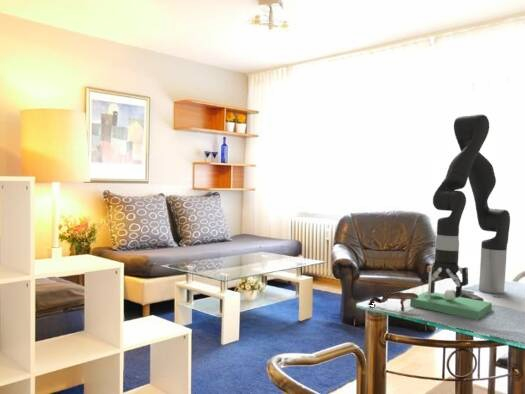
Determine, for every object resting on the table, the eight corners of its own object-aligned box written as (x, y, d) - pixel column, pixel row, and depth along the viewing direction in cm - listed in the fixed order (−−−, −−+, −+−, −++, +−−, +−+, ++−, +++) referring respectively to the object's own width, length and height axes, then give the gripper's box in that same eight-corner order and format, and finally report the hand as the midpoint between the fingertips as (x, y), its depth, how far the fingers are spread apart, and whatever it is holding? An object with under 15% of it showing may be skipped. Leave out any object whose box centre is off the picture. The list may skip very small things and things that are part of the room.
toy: (382, 326, 156) (421, 301, 152) (366, 303, 157) (404, 279, 153) (384, 321, 161) (421, 298, 157) (368, 300, 162) (404, 276, 158)
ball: (460, 294, 160) (452, 302, 162) (451, 285, 162) (443, 293, 164) (457, 296, 157) (449, 304, 159) (448, 287, 159) (440, 295, 161)
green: (427, 297, 174) (427, 291, 174) (491, 310, 160) (491, 302, 160) (410, 305, 162) (410, 298, 162) (477, 319, 148) (478, 311, 147)
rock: (488, 304, 169) (489, 292, 169) (472, 307, 164) (472, 295, 163) (468, 299, 176) (469, 288, 175) (452, 302, 170) (453, 290, 170)
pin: (428, 300, 159) (429, 265, 159) (430, 301, 159) (432, 266, 158) (424, 302, 157) (426, 266, 156) (427, 302, 156) (429, 267, 156)
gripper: (471, 249, 160) (469, 297, 160) (430, 245, 169) (428, 289, 169) (465, 251, 154) (462, 300, 154) (422, 246, 163) (420, 293, 163)
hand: (444, 295), depth 162 cm, fingers open, 8 cm apart
